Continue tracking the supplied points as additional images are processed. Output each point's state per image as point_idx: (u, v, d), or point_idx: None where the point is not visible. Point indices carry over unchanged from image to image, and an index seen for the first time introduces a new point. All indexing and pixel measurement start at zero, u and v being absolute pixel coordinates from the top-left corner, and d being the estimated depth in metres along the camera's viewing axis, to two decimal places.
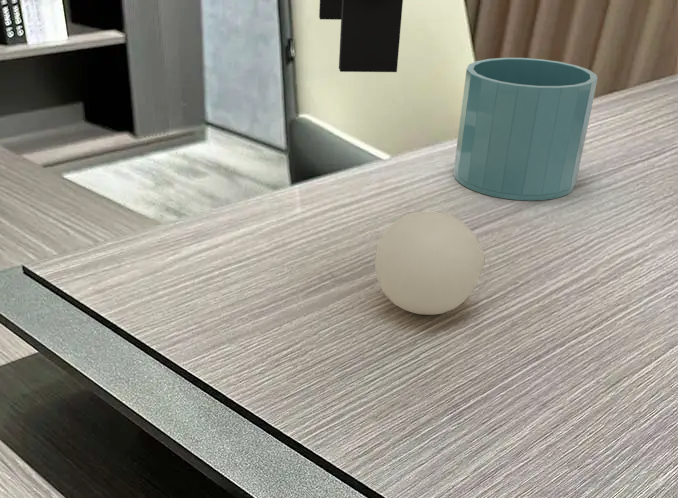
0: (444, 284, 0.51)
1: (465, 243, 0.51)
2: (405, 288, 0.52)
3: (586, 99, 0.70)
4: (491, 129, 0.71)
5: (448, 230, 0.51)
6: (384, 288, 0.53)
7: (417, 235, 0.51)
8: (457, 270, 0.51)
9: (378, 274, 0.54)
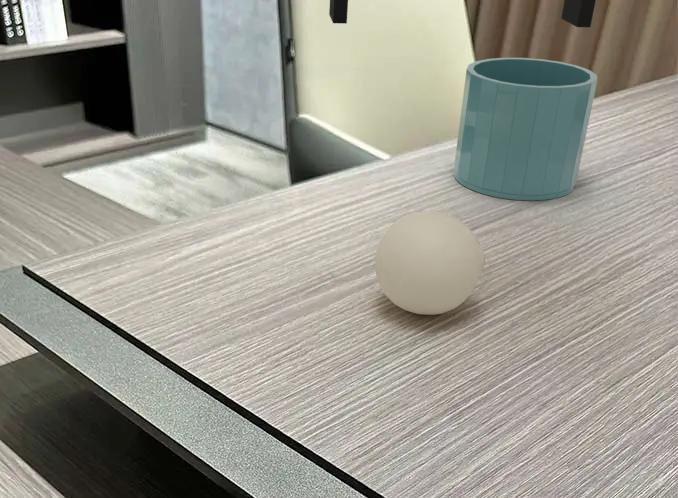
0: (444, 284, 0.51)
1: (465, 243, 0.51)
2: (405, 288, 0.52)
3: (586, 99, 0.70)
4: (491, 129, 0.71)
5: (448, 230, 0.51)
6: (384, 288, 0.53)
7: (417, 235, 0.51)
8: (457, 270, 0.51)
9: (378, 274, 0.54)
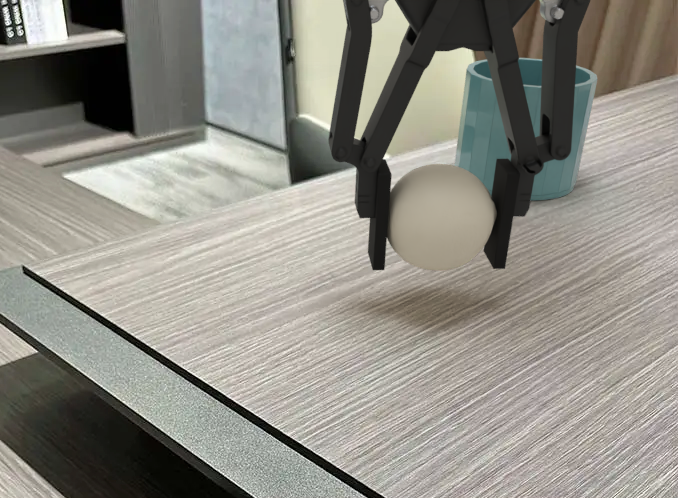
0: (455, 236, 0.49)
1: (476, 195, 0.50)
2: (415, 242, 0.50)
3: (586, 99, 0.70)
4: (491, 129, 0.71)
5: (458, 182, 0.50)
6: (393, 244, 0.52)
7: (427, 187, 0.50)
8: (468, 222, 0.49)
9: (387, 229, 0.52)
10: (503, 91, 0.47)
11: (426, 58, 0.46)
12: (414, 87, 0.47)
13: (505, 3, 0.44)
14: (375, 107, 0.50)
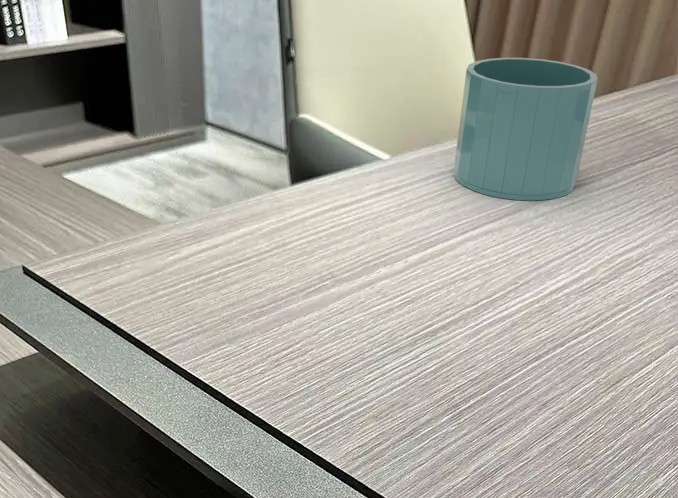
0: None
1: None
2: None
3: (586, 99, 0.70)
4: (491, 129, 0.71)
5: None
6: None
7: None
8: None
9: None
10: None
11: None
12: None
13: None
14: None
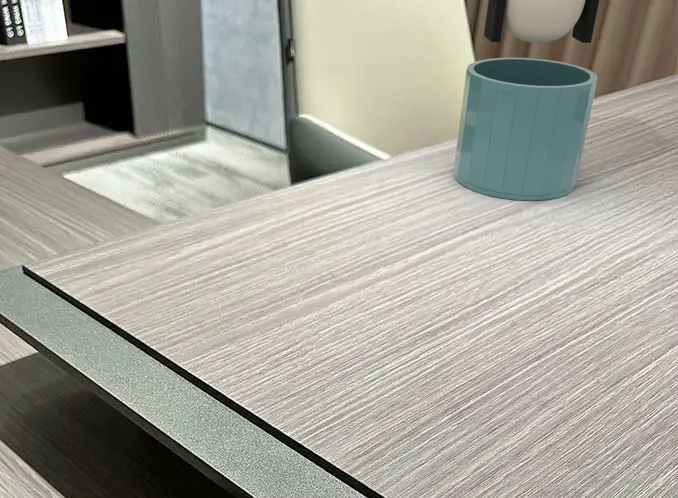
0: (559, 5, 0.67)
1: None
2: (528, 11, 0.67)
3: (586, 99, 0.70)
4: (491, 129, 0.71)
5: None
6: (509, 19, 0.69)
7: None
8: None
9: None
10: None
11: None
12: None
13: None
14: None
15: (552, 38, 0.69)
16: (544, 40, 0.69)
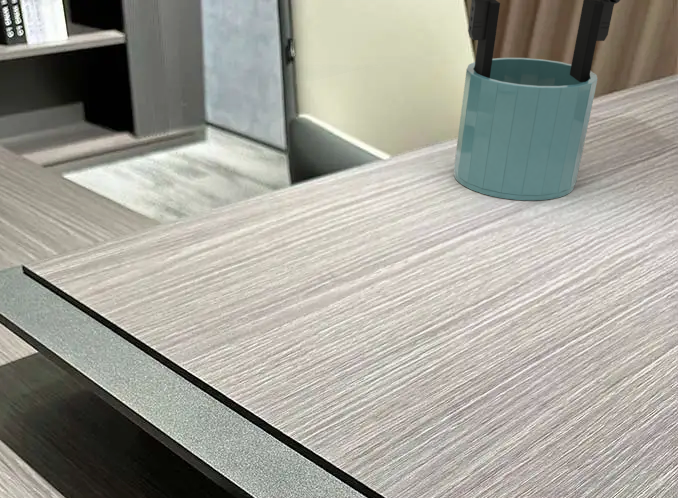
0: None
1: None
2: None
3: (586, 99, 0.70)
4: (491, 129, 0.71)
5: None
6: None
7: None
8: None
9: None
10: None
11: None
12: None
13: None
14: None
15: None
16: None
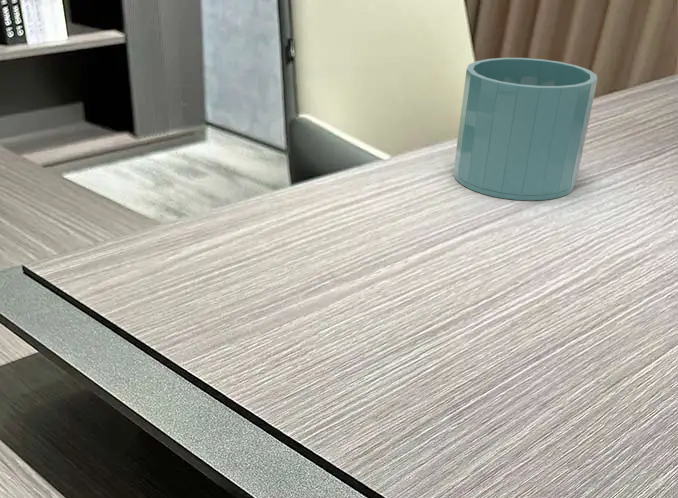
0: None
1: None
2: None
3: (586, 99, 0.70)
4: (491, 129, 0.71)
5: None
6: None
7: None
8: None
9: None
10: None
11: None
12: None
13: None
14: None
15: None
16: None
